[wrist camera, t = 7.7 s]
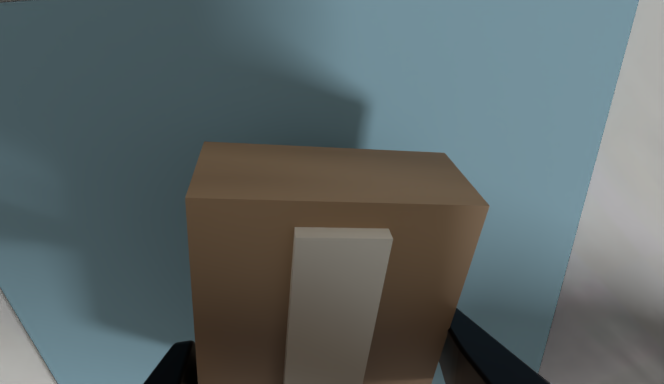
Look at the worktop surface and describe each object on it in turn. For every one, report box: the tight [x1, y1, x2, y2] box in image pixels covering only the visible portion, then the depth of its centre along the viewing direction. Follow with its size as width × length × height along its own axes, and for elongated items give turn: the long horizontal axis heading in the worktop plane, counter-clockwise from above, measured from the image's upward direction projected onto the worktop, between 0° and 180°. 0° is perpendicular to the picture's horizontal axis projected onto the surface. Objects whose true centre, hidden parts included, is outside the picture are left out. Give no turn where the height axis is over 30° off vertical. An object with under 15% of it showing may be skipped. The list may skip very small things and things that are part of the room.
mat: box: [0, 0, 639, 384], centre depth 12 cm, size 16×14×1 cm
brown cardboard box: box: [185, 141, 490, 384], centre depth 10 cm, size 8×5×2 cm, turn 174°
